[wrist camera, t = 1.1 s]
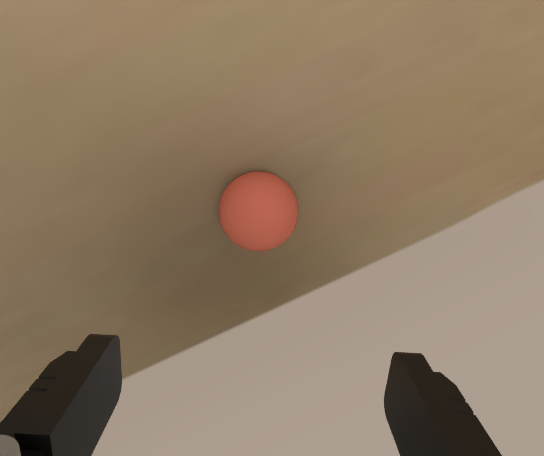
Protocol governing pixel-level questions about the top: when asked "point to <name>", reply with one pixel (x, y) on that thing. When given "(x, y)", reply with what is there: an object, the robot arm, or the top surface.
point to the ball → (258, 211)
